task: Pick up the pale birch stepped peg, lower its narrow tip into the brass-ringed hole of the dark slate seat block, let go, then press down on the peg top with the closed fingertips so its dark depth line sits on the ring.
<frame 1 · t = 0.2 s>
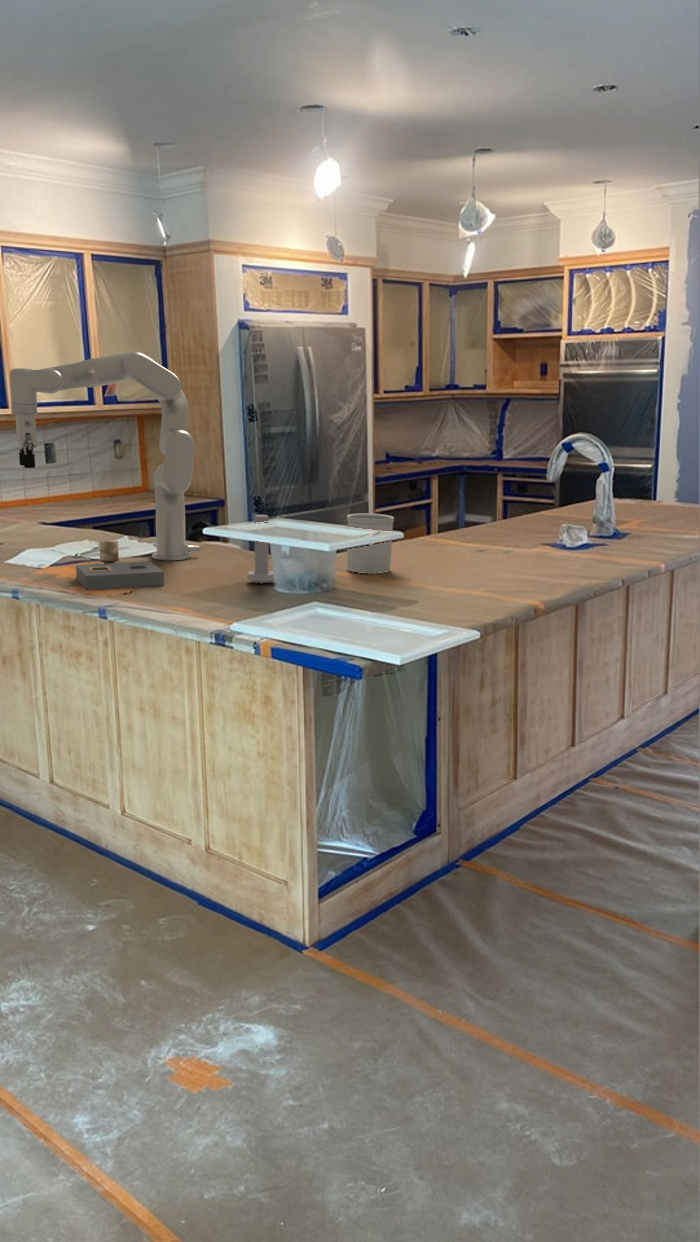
hand: (27, 466, 311), 31 cm above the countertop, fingers open, 9 cm apart
seat block: (119, 581, 294), on the countertop
peg: (109, 572, 309), on the countertop
utensil holder: (369, 571, 320), on the countertop
screw: (261, 583, 297), on the countertop
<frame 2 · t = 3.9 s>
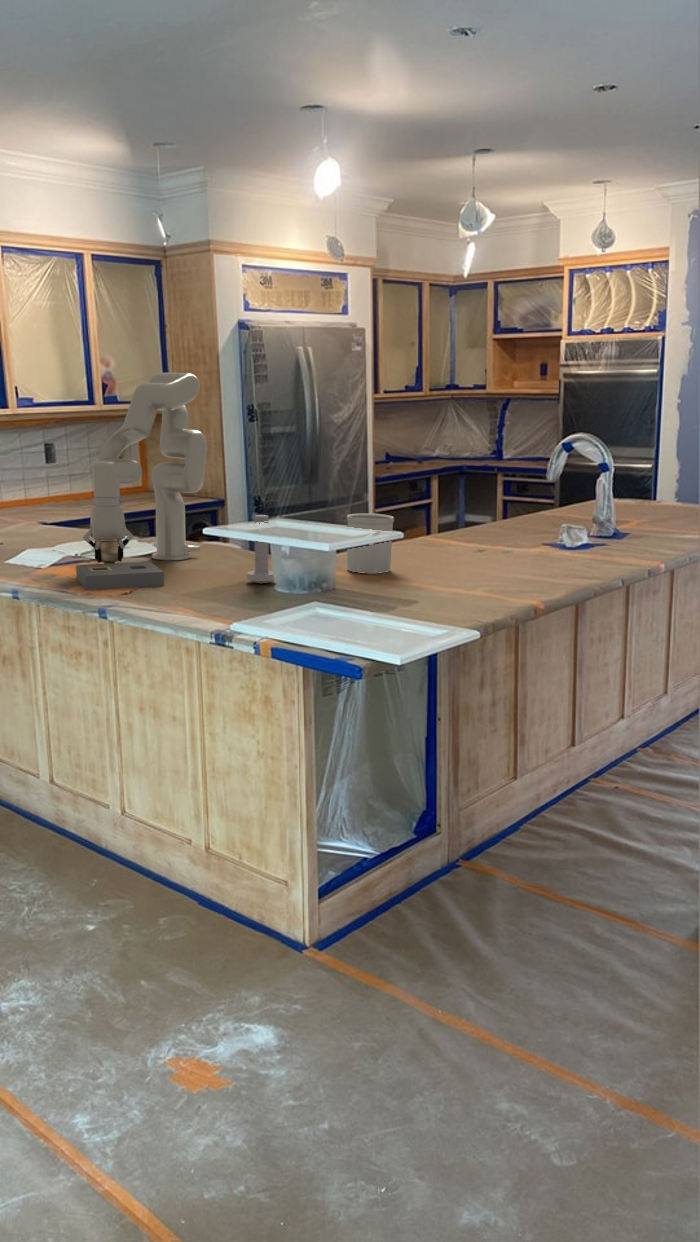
hand: (109, 560, 308), 4 cm above the countertop, fingers closed on peg, 5 cm apart
peg: (109, 572, 309), on the countertop, touching gripper
everything else where it was.
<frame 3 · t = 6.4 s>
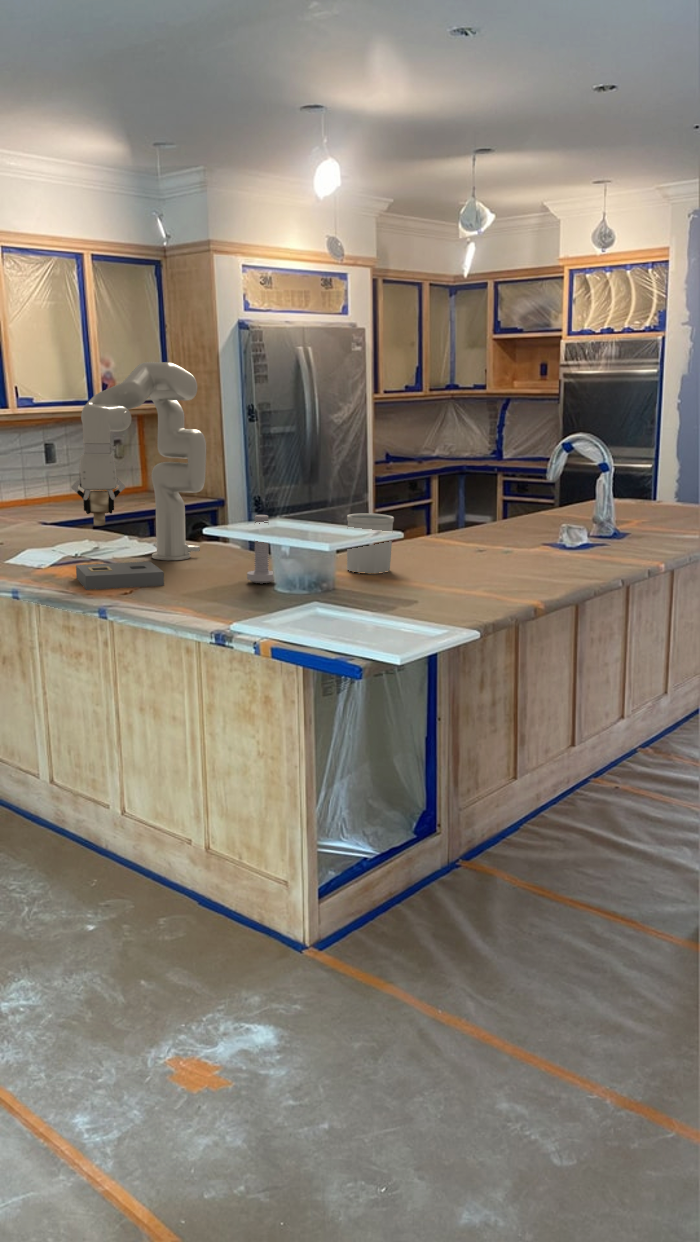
hand: (99, 512, 290), 20 cm above the countertop, fingers closed on peg, 5 cm apart
peg: (99, 524, 291), point 17 cm above the countertop, touching gripper
everything else where it was.
when the fingers open (6 cm above the countertop, at t = 8.9 s): peg drops 2 cm, resting on seat block.
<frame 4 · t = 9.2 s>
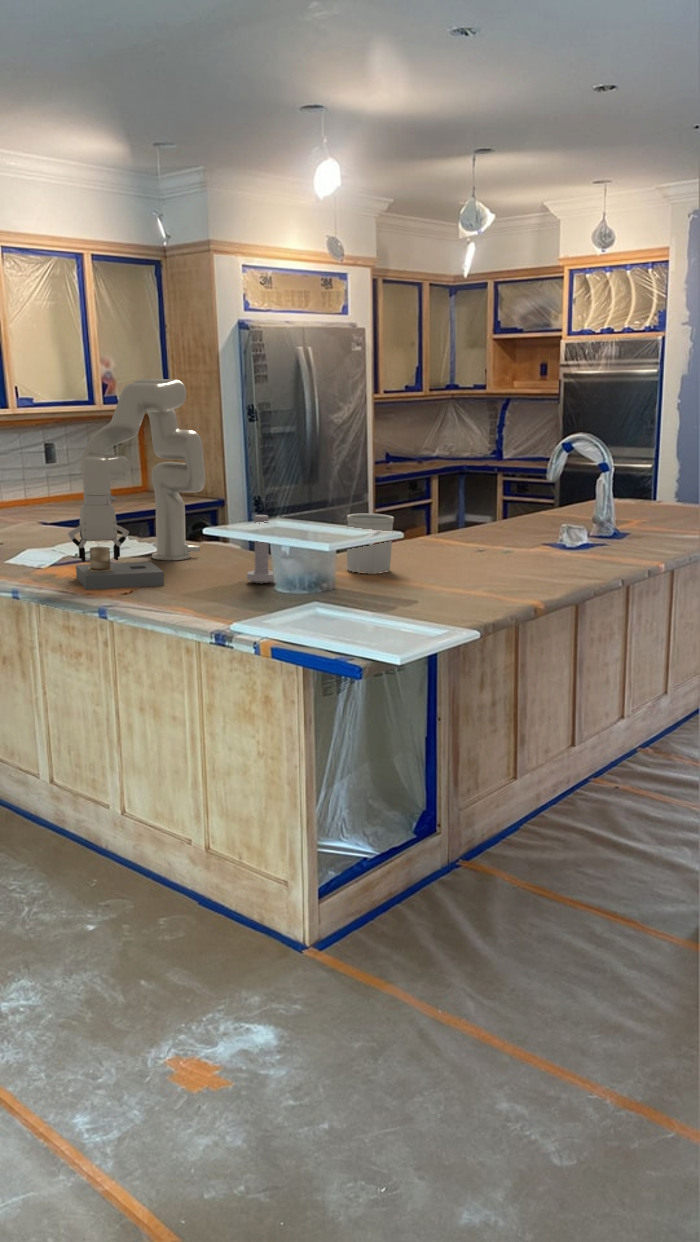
hand: (99, 560, 291), 7 cm above the countertop, fingers open, 9 cm apart
peg: (100, 580, 292), point 1 cm above the countertop, touching seat block
everything else where it was.
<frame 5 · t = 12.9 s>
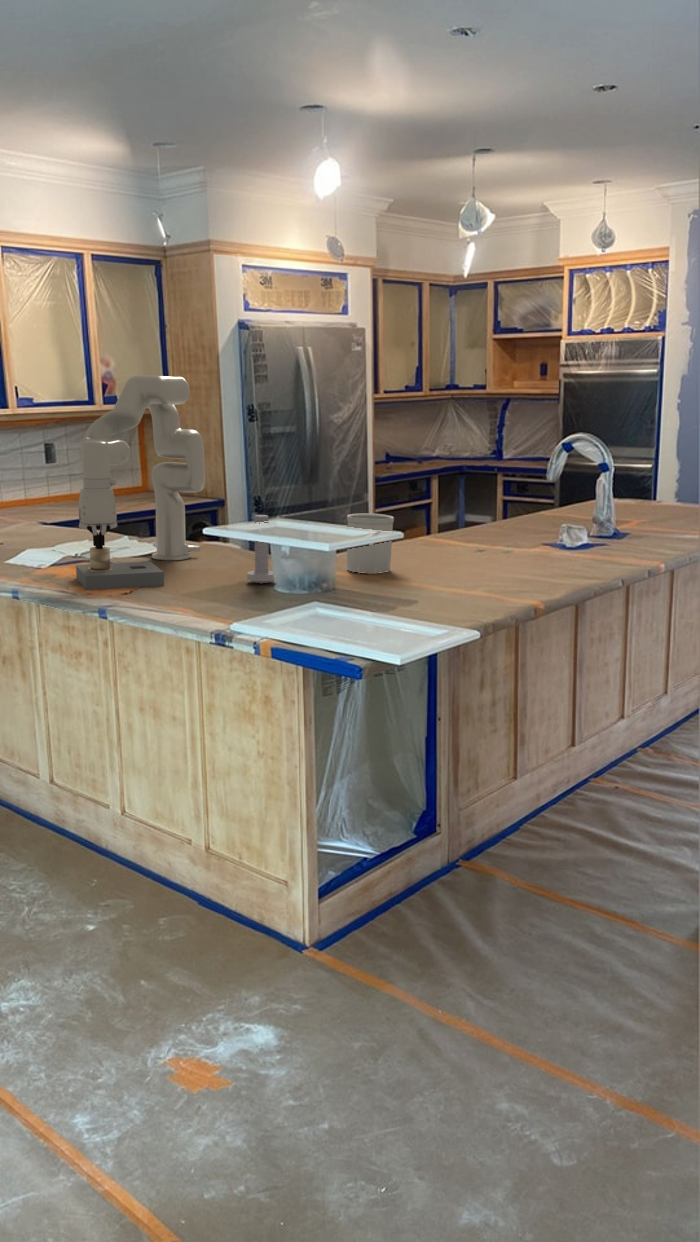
hand: (99, 548, 290), 10 cm above the countertop, fingers closed
peg: (100, 580, 292), point 1 cm above the countertop, touching gripper, seat block
everything else where it was.
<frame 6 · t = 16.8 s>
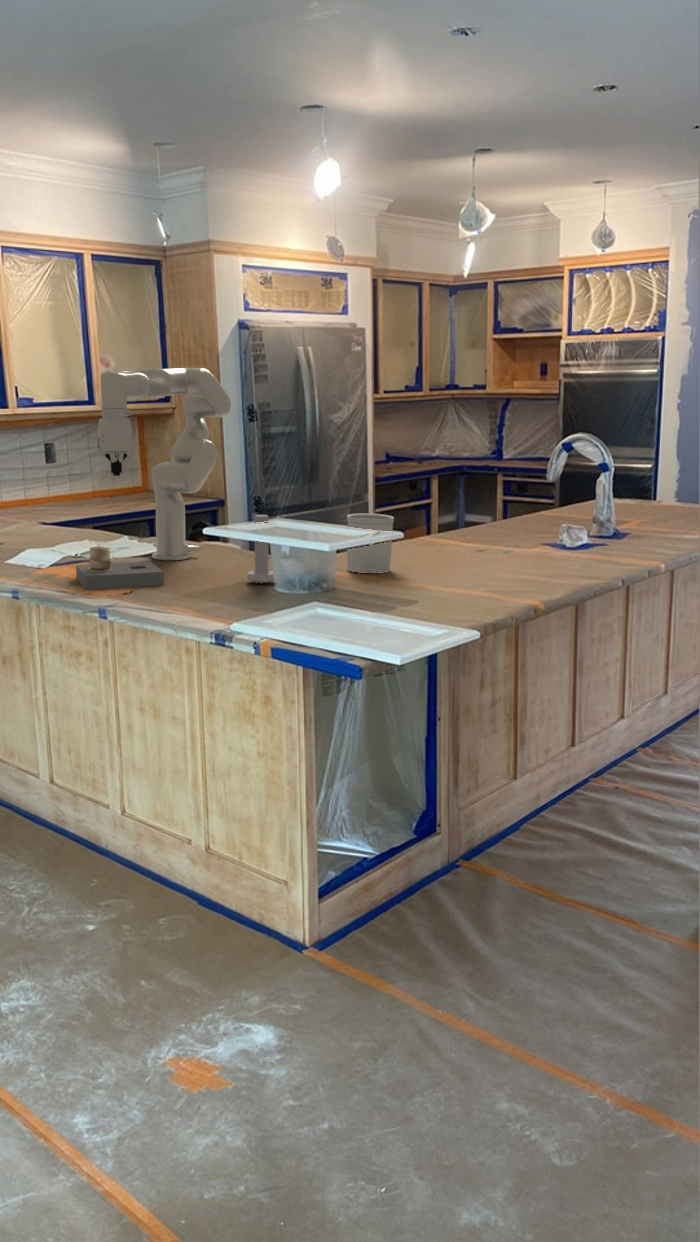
hand: (116, 475, 308), 29 cm above the countertop, fingers closed
peg: (100, 580, 292), point 1 cm above the countertop, touching seat block
everything else where it was.
at the end: peg 0.1 cm from the target spot on the seat block, point 0.6 cm above the seat block's base; peg tilted 0°; the gripper is holding nothing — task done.
